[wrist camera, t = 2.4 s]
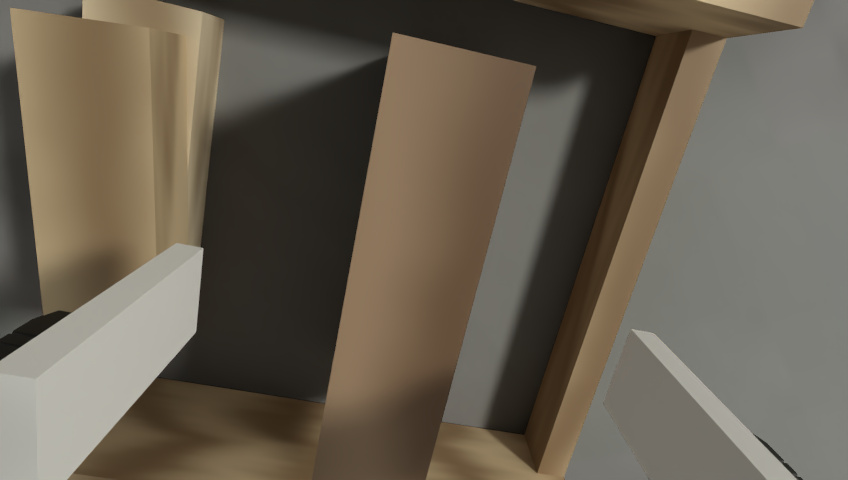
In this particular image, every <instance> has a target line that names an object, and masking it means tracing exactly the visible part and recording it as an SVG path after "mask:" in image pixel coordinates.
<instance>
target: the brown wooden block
mask: <svg viewBox="0 0 848 480" xmlns="http://www.w3.org/2000/svg"><path fill="white" fill-rule="evenodd" d="M535 70H536V66H533V65H529V64H525V63H521V62H516V61H512V60H508V59H504V58H499V57H495V56H491V55H487V54H482V53H478V52H474V51H470V50H465V49H461V48H457V47H453V46H448V45H444V44H440V43H436V42H431V41H427V40H423V39H419V38H414V37H410V36H406V35H402V34H397V33H393V34H392V39H391V45H390V50H389V56H388V61H387V67H386V72H385V78H384V83H383V89H382V94H381V100H380V105H379V111H378V116H377V122H376V127H375V133H374V138H373V144H372V149H371V155H370V160H369V166H368V171H367V177H366V182H365V188H364V193H363V199H362V204H361V210H360V215H359V221H358V226H357V232H356V237H355V243H354V248H353V254H352V259H351V265H350V270H349V276H348V282H347V287H346V293H345V298H344V304H343V309H342V315H341V320H340V326H339V331H338V337H337V342H336V348H335V353H334V359H333V364H332V370H331V375H330V381H329V386H328V392H327V397H326V403H325V408H324V414H323V419H322V425H321V430H320V436H319V441H318V447H317V452H316V458H315V463H314V469H313V474H312V480H426V477H427V473H428V470H429V466H430V462H431V458H432V455H433V451H434V447H435V443H436V440H437V436H438V432H439V428H440V425H441V421H442V417H443V414H444V410H445V406H446V402H447V399H448V395H449V391H450V387H451V384H452V380H453V376H454V372H455V369H456V365H457V361H458V358H459V354H460V350H461V346H462V343H463V339H464V335H465V331H466V328H467V324H468V320H469V316H470V313H471V309H472V305H473V301H474V298H475V294H476V290H477V287H478V283H479V279H480V275H481V272H482V268H483V264H484V260H485V257H486V253H487V249H488V245H489V242H490V238H491V234H492V231H493V227H494V223H495V219H496V216H497V212H498V208H499V204H500V201H501V197H502V193H503V189H504V186H505V182H506V178H507V174H508V171H509V167H510V163H511V160H512V156H513V152H514V148H515V145H516V141H517V137H518V133H519V130H520V126H521V122H522V118H523V115H524V111H525V107H526V104H527V100H528V96H529V92H530V89H531V85H532V81H533V77H534V74H535Z"/></svg>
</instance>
